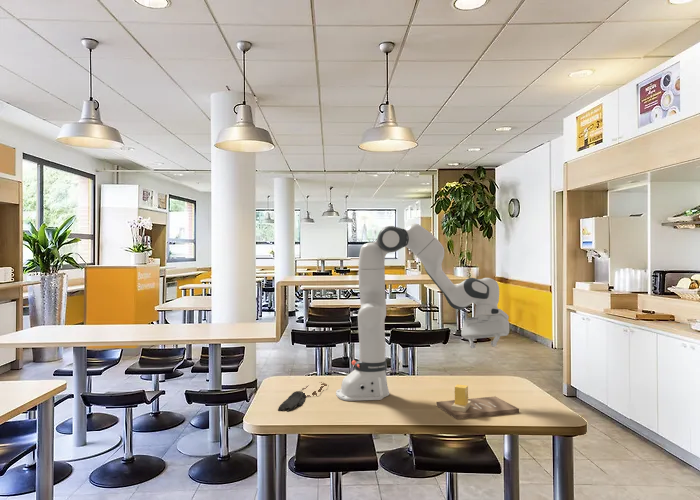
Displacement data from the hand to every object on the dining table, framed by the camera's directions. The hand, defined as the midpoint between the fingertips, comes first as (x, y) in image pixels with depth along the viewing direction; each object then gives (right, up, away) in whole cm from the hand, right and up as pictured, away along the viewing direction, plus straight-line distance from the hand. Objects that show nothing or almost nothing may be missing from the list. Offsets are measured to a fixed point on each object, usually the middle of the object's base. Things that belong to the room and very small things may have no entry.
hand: (482, 346), depth 196 cm
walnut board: (-5, -22, -8) cm, 24 cm away
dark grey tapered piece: (-75, -23, 0) cm, 78 cm away
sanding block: (-11, -21, -11) cm, 26 cm away
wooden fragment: (-68, -23, +20) cm, 75 cm away
